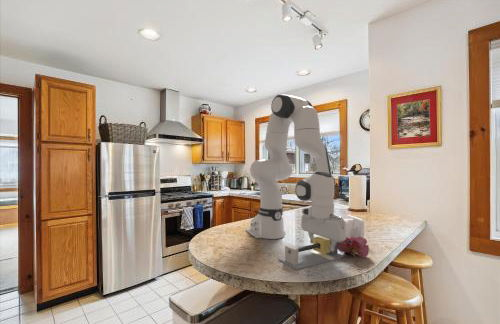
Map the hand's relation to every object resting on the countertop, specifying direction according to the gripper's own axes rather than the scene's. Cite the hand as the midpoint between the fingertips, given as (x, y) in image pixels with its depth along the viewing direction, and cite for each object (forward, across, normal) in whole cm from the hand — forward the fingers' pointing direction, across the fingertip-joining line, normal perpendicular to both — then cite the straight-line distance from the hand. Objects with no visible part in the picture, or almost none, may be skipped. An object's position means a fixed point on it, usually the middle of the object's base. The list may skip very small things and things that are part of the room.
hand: (321, 246), depth 97 cm
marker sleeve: (+2, 0, 0) cm, 2 cm away
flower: (+4, -6, -11) cm, 13 cm away
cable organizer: (+4, +8, -26) cm, 27 cm away
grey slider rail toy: (+4, 0, +6) cm, 7 cm away
